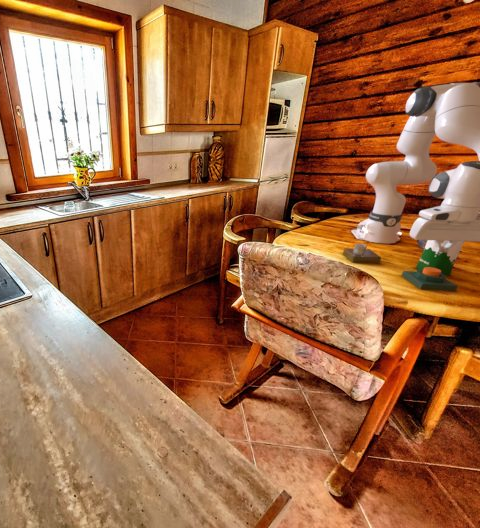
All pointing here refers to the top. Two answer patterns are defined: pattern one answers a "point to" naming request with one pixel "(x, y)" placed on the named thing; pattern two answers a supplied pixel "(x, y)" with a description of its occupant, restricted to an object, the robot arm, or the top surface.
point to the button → (431, 271)
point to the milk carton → (439, 257)
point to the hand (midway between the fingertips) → (440, 252)
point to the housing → (429, 281)
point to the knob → (359, 249)
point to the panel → (362, 256)
